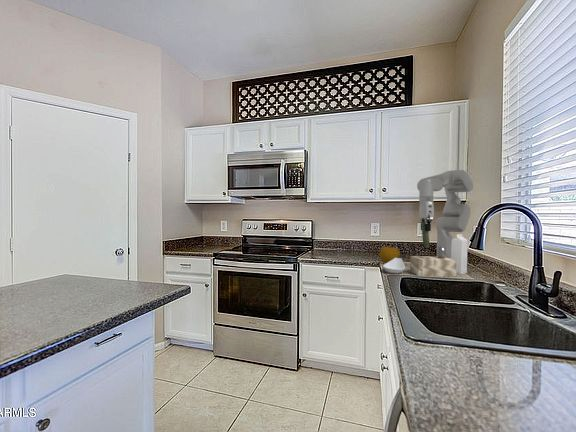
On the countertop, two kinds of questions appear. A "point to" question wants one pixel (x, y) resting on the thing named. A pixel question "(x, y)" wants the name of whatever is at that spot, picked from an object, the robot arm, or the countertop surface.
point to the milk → (460, 253)
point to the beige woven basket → (433, 265)
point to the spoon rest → (394, 266)
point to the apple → (389, 254)
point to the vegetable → (425, 235)
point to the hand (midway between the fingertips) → (425, 230)
